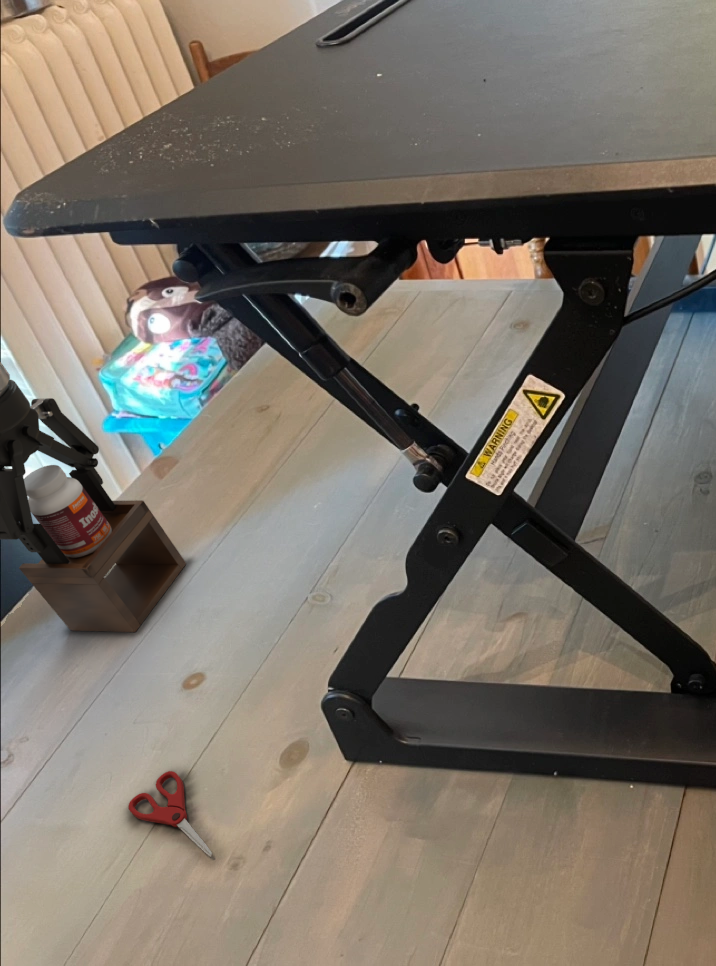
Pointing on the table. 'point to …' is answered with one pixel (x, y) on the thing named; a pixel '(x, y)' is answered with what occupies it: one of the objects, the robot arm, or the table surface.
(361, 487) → the table surface
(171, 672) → the table surface
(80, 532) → the pill bottle
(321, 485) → the table surface
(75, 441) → the robot arm
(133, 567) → the shelf
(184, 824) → the scissors
